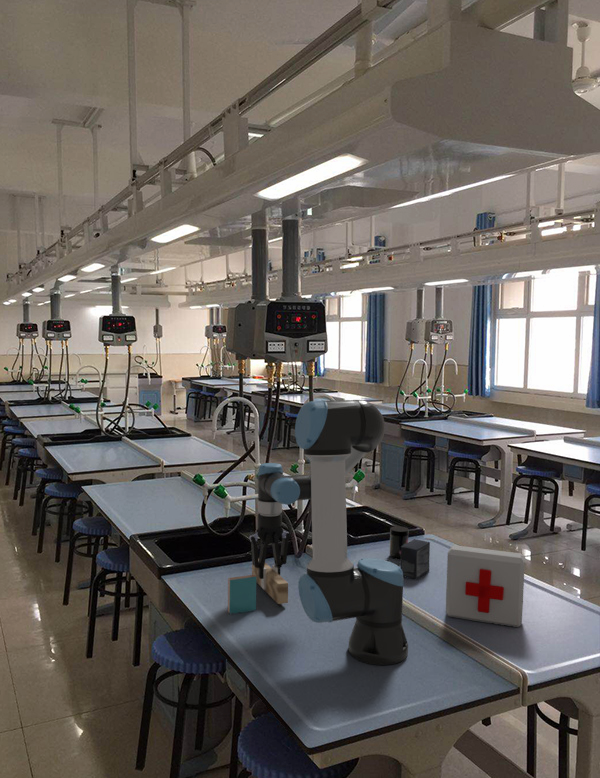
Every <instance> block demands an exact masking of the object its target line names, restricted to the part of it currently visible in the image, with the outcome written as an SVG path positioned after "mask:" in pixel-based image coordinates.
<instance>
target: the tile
mask: <svg viewBox="0 0 600 778" xmlns="http://www.w3.org/2000/svg"><path fill="white" fill-rule="evenodd" d="M252 610H254V611H257V582H256V576H255V575H252V574H251V575H250V574H247V575H242V576H240V575H239V576H233V577H228V578H227V612H228V614H229V613H234V614H239V613H238V612H241V613H245V612H246V613H247V612H252Z"/></svg>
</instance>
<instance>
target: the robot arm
mask: <svg viewBox="0 0 600 778" xmlns="http://www.w3.org/2000/svg"><path fill="white" fill-rule="evenodd" d="M294 427H295V428H294V438H295V442H296V445H297V446H298V447H299V448H300V449H302V450H303V453H304V456H305V458H306V459H307V460H309V462H310V474H309V473H308V474H295V475H294V474H293V475H284V471H283V466H282V464H280V463H275V462H266V463H261V464H260V465H259V466H258V470H257V512H258V514H257V529H256V532H255V533H253V534H252V535H251V534H250V535H248V539H249V542H250V547H251V548H250V550H251V564H252V563H253V565H254V566H255V567H256V568H258V576H259V578H260V579H261V586H260V588H262V590H263V591H265V590H266V570H267V569H266V568H265V567H264V565H265V563H266V558H267V550H268V547H269V544H271V547H272V554H273V559H274V560H273V561H274V564H272V567H271V568H272V569H273V570H274V571H275V572H276V573H278V574H279V575H280V576H281V568H282V567H283V566H284V565H286V564H287V559H288V549H289V540H290V538H291V533H290V532H289V531H287V530H284V528H283V514H282V513H283V505H293V504H294V503H295V502H297V501H307V500H308V501H309V500H311V537H312V541H311V542H312V545H311V546H312V559H311V560H310V561H309V562H308V563H307V564H306V573H305V574H302V575H301V576H300V577H299V580H298V584H297V585H298V586H297V587H298V594H299V595H298V596H299V600H300V602H301V605H302V608H303V610H304V613H305V615H306V616H307V618H309V620H310V621H312V623H313V622H314V623H316V624H317V623H318V624H321V623H332V622H337V621H342V620H349V619H354V618H355V622H354V625H353V628H352V631H351V634H350V636H349V639H348V652H349V654H350V655H351V656H352V657H353V658H355V659H356V660H358V661H360V662H363V663H365V664H370V665H377V666H390V665H395V664H398V663H401V662H402V661H404V660H405V659H406V658H407V657H408V654H409V644H408V640H407V637H406V633H405V629H404V627H403V604H404V603H403V599H404V598H403V597H404V587H405V584H404V583H405V582H404V577H403V572H402V570H401V566H399V565H397V564H396V563H394V562H392V561H388V560H384V559H380V558H371V557H369V558H368V557H366V558H361V559H359V560H358V561H357V564H356V568H354V563H353V562H352V561H351V560H350V559H349V558H348V537H347V536H348V532H347V527H348V525H347V524H348V523H347V522H348V521H347V492H346V491H347V490H346V489H347V488H346V487H347V485H346V477H347V476H348V474H349V473H350V472H351V471H352V470H354V469H353V468H355V466H356V465H357V464H358V463H359V462H360V461H361V459H362V458H363V457H364V456H365V455H366V454H368V453H369V454H370V453H371V452H373V451H375V450H376V448H377V447H378V446H379V445H380V444H381V442H382V440H383V438H384V435H385V433H386V432H385V431H386V422H385V419H384V416H383V414H382V412H381V411H380V410H379V409H378V408H377V406H375V405H374V404H373V403H371V402H368V401H366V400H362V399H351V400H350V399H344V400H343V399H338V400H336V399H335V400H331V399H329V400H328V399H327V400H326V399H325V400H324V399H321V400H312V401H308V402H306V403H305V402H304V404H303V405H302V406H301V407H300V409H299V411H298V413H297V416H296V419H295V425H294ZM258 538H259V539H260V549H259V550H258V543H257V542H258ZM280 538H281V544H280V543H279V539H280ZM279 546H280V548H279ZM258 552H259V553H258ZM258 559H259V562H258Z"/></svg>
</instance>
